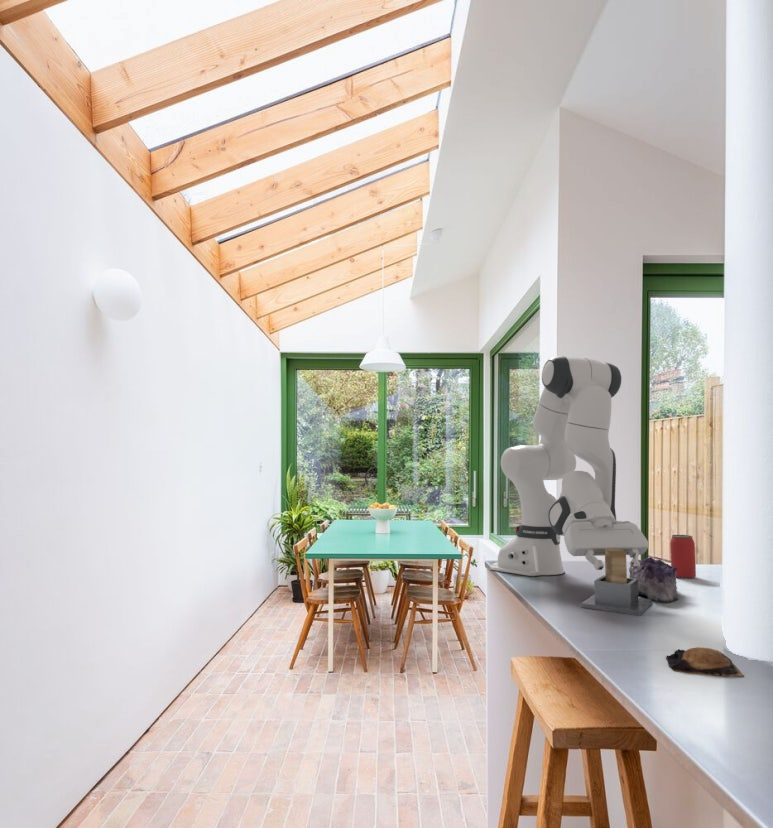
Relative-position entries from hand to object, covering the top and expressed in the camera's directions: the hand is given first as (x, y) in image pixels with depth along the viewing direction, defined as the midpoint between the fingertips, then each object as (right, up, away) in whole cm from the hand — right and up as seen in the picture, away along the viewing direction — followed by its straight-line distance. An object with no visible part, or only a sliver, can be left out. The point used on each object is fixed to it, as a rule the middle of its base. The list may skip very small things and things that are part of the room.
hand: (618, 568), depth 143 cm
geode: (+15, -10, +12) cm, 21 cm away
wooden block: (0, -8, 0) cm, 8 cm away
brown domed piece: (-2, -7, -42) cm, 43 cm away
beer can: (+32, -12, +34) cm, 49 cm away
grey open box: (0, -9, 0) cm, 9 cm away
